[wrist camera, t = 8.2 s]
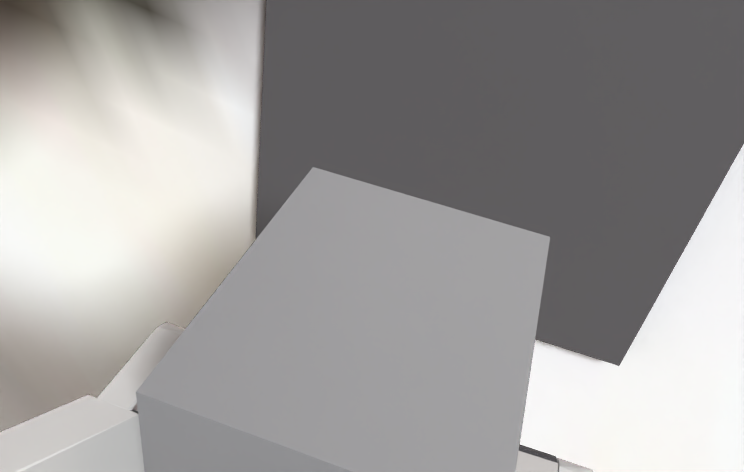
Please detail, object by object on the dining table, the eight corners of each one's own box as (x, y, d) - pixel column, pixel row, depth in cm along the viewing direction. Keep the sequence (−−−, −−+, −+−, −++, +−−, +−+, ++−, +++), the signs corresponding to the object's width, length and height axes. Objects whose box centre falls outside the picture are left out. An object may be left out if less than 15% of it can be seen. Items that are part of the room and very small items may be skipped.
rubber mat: (285, -174, 15) (274, -172, 14) (842, -56, 13) (851, -50, 13) (262, 238, 22) (255, 249, 22) (619, 352, 20) (618, 365, 20)
